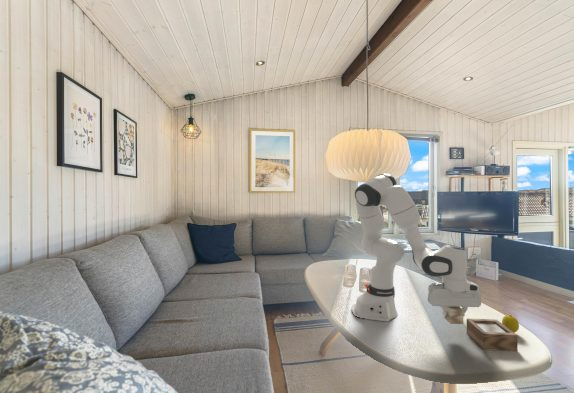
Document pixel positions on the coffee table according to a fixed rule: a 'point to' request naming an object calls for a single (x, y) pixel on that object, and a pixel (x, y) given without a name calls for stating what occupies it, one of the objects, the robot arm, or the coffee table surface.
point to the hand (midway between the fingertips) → (453, 315)
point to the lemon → (510, 323)
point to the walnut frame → (492, 334)
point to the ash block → (454, 315)
